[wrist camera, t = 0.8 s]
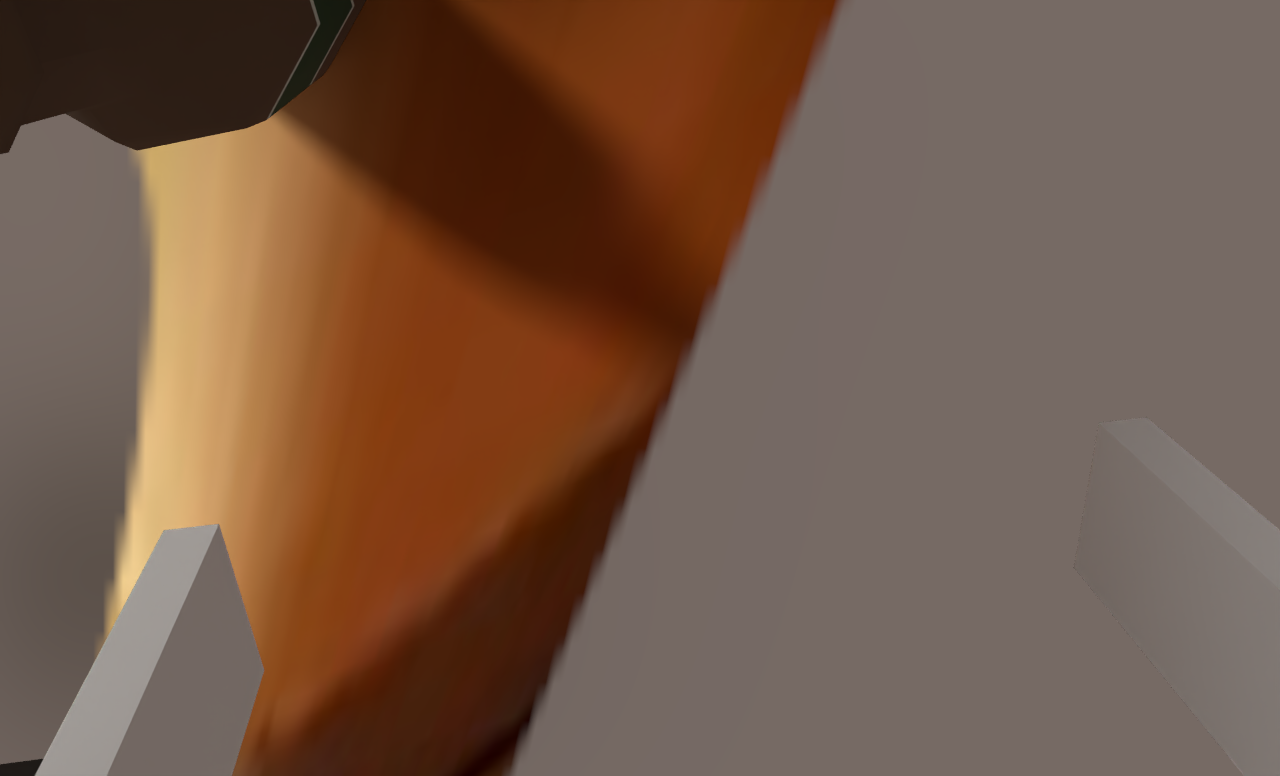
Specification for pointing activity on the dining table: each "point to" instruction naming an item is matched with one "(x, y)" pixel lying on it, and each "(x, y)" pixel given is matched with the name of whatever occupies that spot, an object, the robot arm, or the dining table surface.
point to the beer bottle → (162, 63)
